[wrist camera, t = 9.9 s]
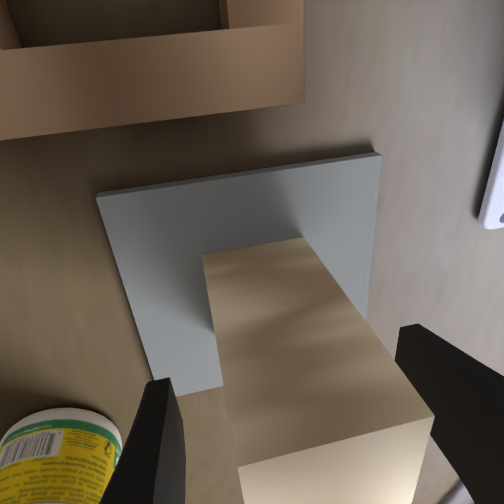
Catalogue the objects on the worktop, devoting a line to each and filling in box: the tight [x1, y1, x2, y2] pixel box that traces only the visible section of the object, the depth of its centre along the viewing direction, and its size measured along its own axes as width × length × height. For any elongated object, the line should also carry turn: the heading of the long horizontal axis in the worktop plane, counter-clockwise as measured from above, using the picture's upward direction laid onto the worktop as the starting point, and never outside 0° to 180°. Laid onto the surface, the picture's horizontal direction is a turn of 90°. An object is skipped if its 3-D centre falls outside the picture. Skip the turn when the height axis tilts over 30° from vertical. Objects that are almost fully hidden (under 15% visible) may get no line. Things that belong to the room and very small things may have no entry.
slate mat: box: [96, 152, 382, 396], centre depth 15 cm, size 10×10×1 cm
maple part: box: [201, 237, 435, 504], centre depth 11 cm, size 4×4×8 cm
